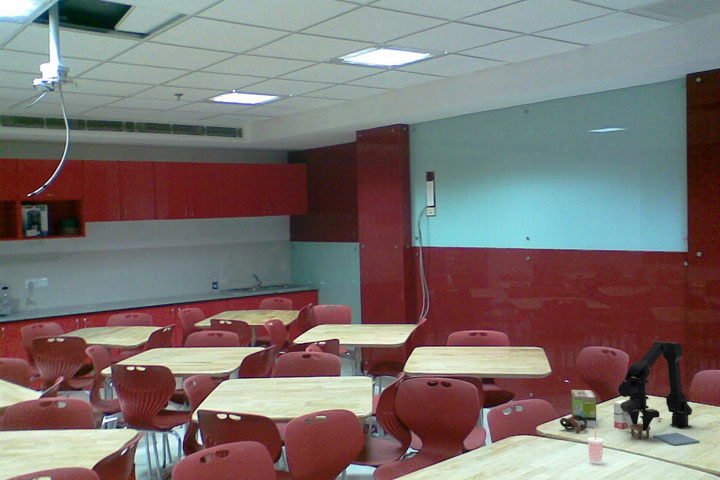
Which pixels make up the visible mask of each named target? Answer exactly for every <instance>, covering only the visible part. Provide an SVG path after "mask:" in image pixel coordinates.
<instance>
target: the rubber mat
mask: <svg viewBox="0 0 720 480" xmlns="http://www.w3.org/2000/svg"><path fill="white" fill-rule="evenodd" d="M652 438H653V439H655V440H658V441H661V442H663V443H666V444H668V445H670V446H674V447H677V446H684V445H685V446H686V445H693V444H700V440H698V439H695V438H693V437H691V436H687V435H684V434H682V433H679V432H672V433H670V432H669V433H665V434H663V433H662V434H657V435H656V434H655V435H652Z"/></svg>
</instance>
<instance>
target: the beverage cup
mask: <svg viewBox="0 0 720 480" xmlns="http://www.w3.org/2000/svg"><path fill="white" fill-rule="evenodd" d="M586 440H587V444H588V446H587V447H588V454H589V455H588V456H589V463H591V462H592V463H591V464H593V463H596V464H595V465H598V464H597V463H601V464H603V450H604V449H603V448H604V439H603V438H601V437H599V436H597V426H596V427H595V428H594V437H593V436H592V437H587V439H586Z"/></svg>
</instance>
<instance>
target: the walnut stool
mask: <svg viewBox="0 0 720 480" xmlns="http://www.w3.org/2000/svg"><path fill="white" fill-rule="evenodd" d="M629 429H630V436H631V437H632V438H633V437H635V431H637V440H641V439H642V436H643V432H645V433H646V435H645V438H646V439H650V431H651V426H650V425H649V426H648V428H647V430H646V431H644V430H643V423H637V424H631V425H630V427H629Z"/></svg>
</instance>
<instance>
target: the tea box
mask: <svg viewBox="0 0 720 480" xmlns="http://www.w3.org/2000/svg"><path fill="white" fill-rule="evenodd" d="M570 392H571V393H570V397H571V402H570V405H571V410H570V411H571V416H572V415H580V416H582V417H584V418H585V419H586V421H587V427H586V429H588V428H589V429H595V427H596V428H597V397H596V395H595V393H594V392H593V390H589V389H588V390H587V389H571V390H570ZM574 420H575V421H576V422H577V423H578V426H580V425H581V424H585V423H584V421H582V420H579V418H578V417H577V418H576V419H574Z"/></svg>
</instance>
